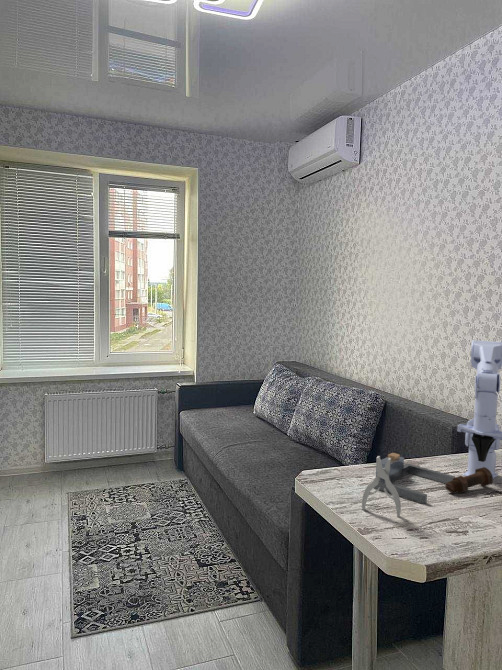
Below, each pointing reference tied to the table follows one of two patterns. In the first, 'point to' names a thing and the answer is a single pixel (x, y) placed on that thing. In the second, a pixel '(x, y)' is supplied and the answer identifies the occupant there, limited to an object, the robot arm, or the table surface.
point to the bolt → (470, 481)
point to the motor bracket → (401, 470)
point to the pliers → (384, 475)
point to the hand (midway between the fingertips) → (481, 460)
